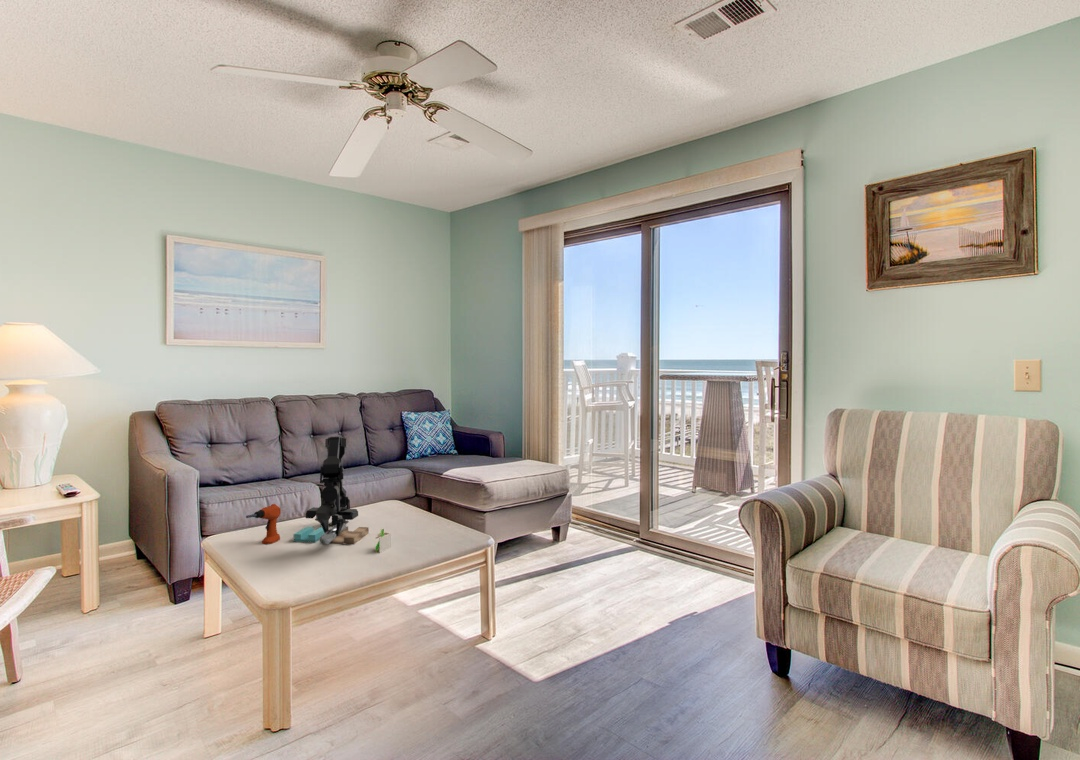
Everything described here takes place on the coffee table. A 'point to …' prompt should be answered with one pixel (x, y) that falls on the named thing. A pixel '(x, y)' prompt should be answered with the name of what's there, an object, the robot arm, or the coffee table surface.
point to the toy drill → (269, 522)
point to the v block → (308, 535)
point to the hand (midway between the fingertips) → (332, 535)
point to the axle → (331, 534)
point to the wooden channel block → (351, 536)
